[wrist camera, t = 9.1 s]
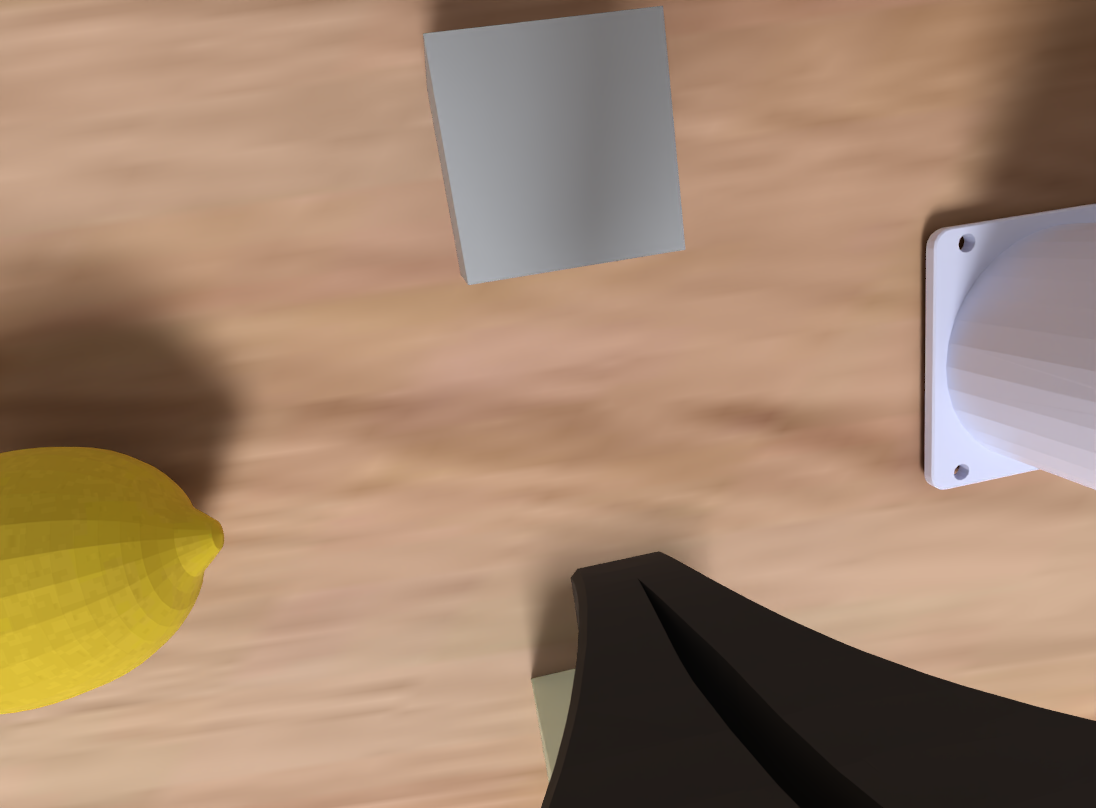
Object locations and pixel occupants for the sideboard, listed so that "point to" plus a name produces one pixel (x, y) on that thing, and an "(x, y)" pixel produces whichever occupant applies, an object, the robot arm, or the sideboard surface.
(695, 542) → the sideboard surface
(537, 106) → the slate block
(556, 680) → the sage block
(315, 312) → the sideboard surface
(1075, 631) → the sideboard surface
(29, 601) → the lemon
